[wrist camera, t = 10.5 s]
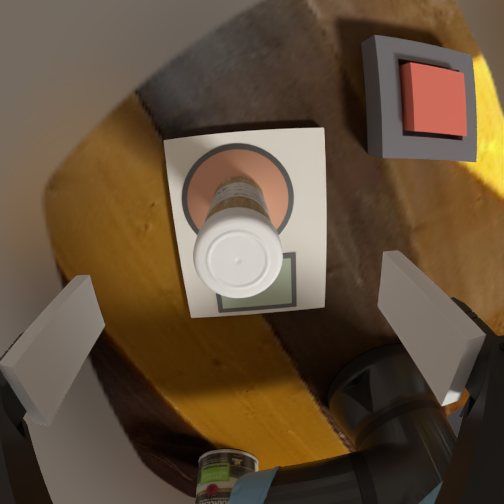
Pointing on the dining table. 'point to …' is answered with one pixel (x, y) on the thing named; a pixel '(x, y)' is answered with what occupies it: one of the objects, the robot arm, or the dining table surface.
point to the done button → (432, 99)
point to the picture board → (278, 203)
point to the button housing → (390, 109)
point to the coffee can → (221, 474)
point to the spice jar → (238, 241)
